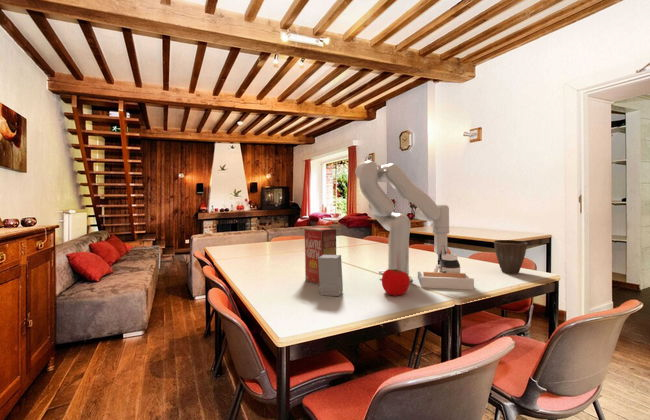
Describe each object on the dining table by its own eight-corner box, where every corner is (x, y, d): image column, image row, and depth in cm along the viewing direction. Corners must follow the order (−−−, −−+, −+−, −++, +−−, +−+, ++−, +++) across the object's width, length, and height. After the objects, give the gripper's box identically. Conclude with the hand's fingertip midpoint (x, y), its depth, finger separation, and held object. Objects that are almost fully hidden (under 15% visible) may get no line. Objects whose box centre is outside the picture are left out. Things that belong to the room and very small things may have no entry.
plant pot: (499, 275, 160) (499, 243, 160) (489, 268, 175) (489, 239, 174) (532, 276, 158) (532, 244, 157) (519, 269, 172) (519, 240, 172)
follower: (423, 282, 146) (423, 270, 146) (423, 282, 148) (423, 269, 148) (465, 284, 143) (465, 272, 143) (464, 283, 145) (465, 271, 144)
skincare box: (343, 292, 133) (342, 254, 132) (338, 297, 126) (337, 257, 126) (323, 290, 136) (323, 253, 135) (317, 295, 129) (317, 256, 129)
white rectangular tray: (421, 287, 140) (421, 277, 140) (417, 277, 157) (417, 268, 156) (473, 289, 136) (474, 279, 136) (464, 279, 153) (464, 270, 152)
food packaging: (304, 280, 153) (303, 228, 152) (318, 277, 159) (318, 226, 158) (322, 286, 143) (322, 230, 142) (337, 282, 149) (337, 228, 149)
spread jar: (463, 282, 146) (462, 257, 145) (438, 284, 145) (438, 259, 144) (450, 274, 158) (450, 251, 157) (428, 276, 157) (428, 253, 156)
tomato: (378, 296, 127) (378, 270, 127) (384, 288, 139) (384, 264, 139) (407, 299, 123) (407, 273, 123) (411, 290, 135) (411, 266, 135)
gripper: (430, 228, 164) (431, 264, 165) (435, 232, 150) (435, 271, 150) (446, 228, 163) (446, 264, 164) (452, 232, 148) (452, 271, 149)
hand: (441, 267), depth 157 cm, fingers closed
